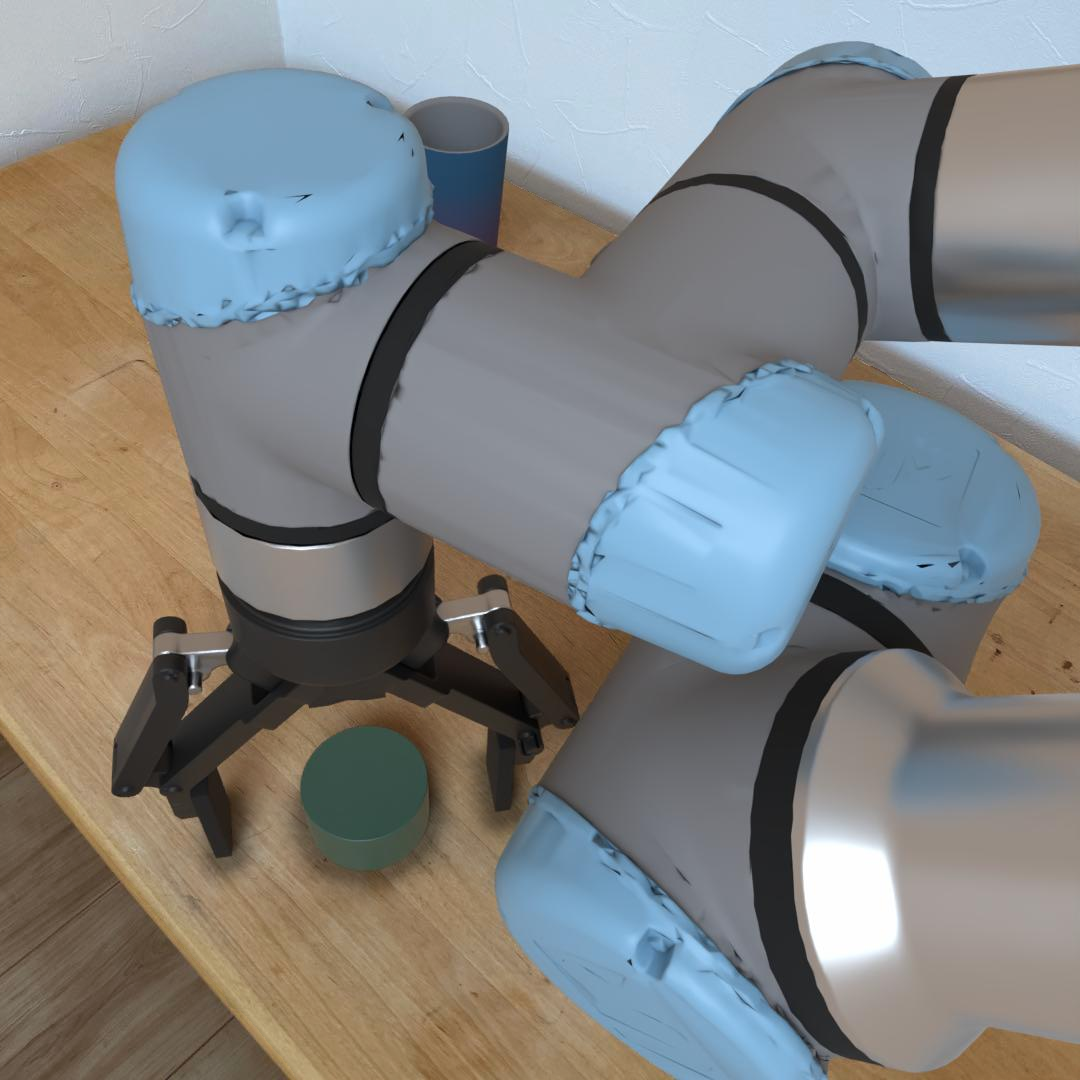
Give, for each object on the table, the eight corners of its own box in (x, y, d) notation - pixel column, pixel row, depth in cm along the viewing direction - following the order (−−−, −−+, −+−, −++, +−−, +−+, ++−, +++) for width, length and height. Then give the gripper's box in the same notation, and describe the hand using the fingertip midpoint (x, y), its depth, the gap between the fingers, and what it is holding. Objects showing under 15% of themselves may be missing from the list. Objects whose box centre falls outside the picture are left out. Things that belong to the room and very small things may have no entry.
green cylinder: (447, 780, 55) (446, 747, 52) (401, 888, 51) (398, 858, 48) (339, 744, 55) (333, 710, 53) (287, 848, 52) (277, 816, 49)
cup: (435, 355, 75) (430, 163, 64) (393, 301, 79) (381, 109, 67) (518, 328, 78) (529, 137, 66) (474, 276, 81) (477, 87, 70)
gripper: (643, 427, 41) (588, 706, 58) (-50, 499, 37) (105, 779, 53) (700, 581, 37) (623, 836, 53) (-84, 684, 32) (97, 928, 49)
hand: (363, 808), depth 53 cm, fingers open, 13 cm apart
